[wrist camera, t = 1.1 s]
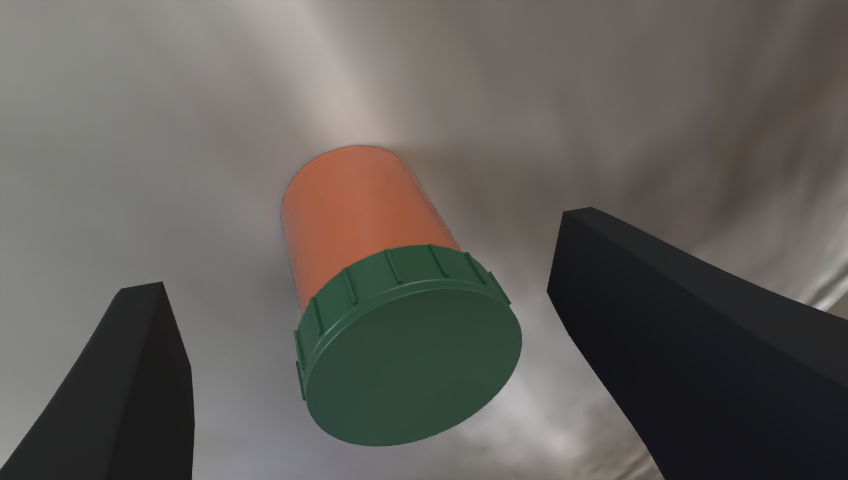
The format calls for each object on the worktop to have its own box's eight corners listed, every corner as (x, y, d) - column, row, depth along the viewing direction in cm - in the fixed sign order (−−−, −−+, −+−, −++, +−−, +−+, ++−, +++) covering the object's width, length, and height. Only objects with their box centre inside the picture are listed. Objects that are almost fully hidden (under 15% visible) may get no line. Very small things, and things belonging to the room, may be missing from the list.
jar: (444, 168, 21) (539, 305, 15) (385, 276, 23) (450, 431, 17) (311, 125, 18) (366, 270, 13) (260, 251, 20) (286, 424, 15)
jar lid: (532, 265, 16) (563, 307, 15) (439, 402, 19) (458, 449, 17) (345, 219, 13) (362, 266, 12) (263, 390, 16) (270, 445, 14)
